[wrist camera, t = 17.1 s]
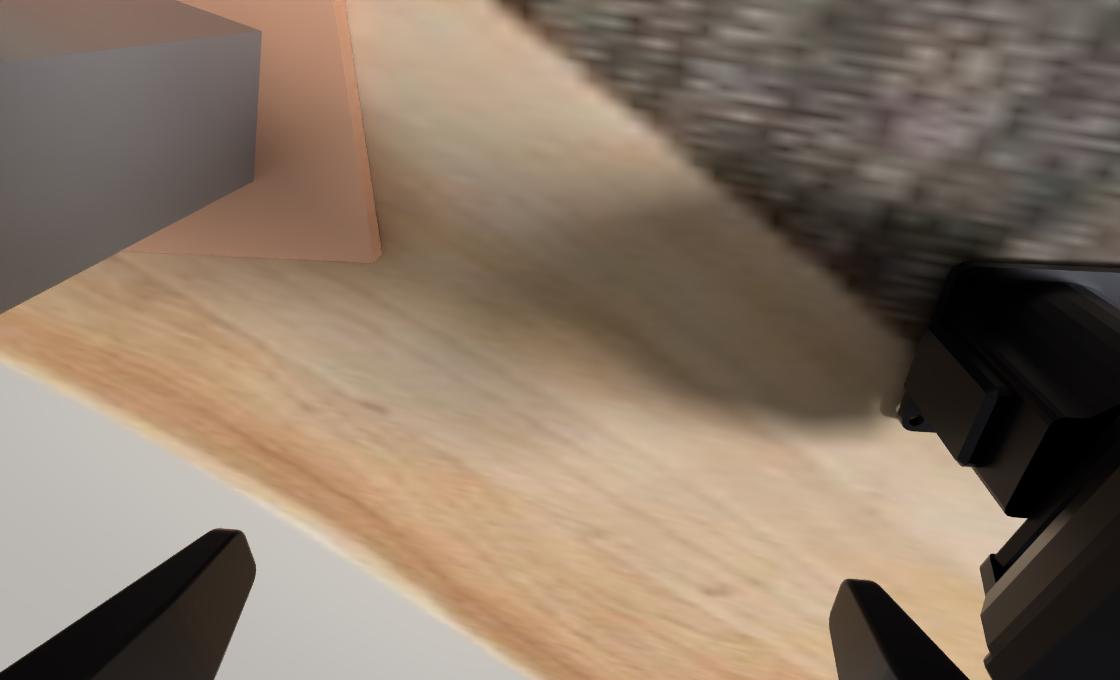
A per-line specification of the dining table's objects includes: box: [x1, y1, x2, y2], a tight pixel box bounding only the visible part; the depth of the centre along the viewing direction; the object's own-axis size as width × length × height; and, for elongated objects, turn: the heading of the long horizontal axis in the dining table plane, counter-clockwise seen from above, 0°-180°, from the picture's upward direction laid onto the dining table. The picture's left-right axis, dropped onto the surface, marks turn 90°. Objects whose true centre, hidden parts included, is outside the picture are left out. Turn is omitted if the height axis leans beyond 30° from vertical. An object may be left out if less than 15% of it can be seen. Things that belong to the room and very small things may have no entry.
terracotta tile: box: [122, 0, 382, 263], centre depth 18 cm, size 10×11×1 cm
